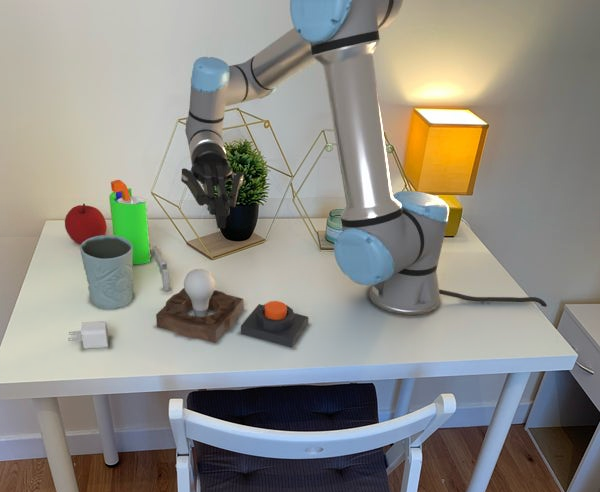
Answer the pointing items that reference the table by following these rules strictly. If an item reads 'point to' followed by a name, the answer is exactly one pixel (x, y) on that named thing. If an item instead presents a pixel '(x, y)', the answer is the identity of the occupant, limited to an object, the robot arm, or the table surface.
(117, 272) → the grey embossed cup
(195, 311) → the lightbulb
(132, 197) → the green-shelled ribbed roller
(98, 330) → the usb wall charger
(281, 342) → the black button base
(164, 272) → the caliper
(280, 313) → the test button
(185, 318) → the bulb stand
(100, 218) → the apple
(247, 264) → the table surface
